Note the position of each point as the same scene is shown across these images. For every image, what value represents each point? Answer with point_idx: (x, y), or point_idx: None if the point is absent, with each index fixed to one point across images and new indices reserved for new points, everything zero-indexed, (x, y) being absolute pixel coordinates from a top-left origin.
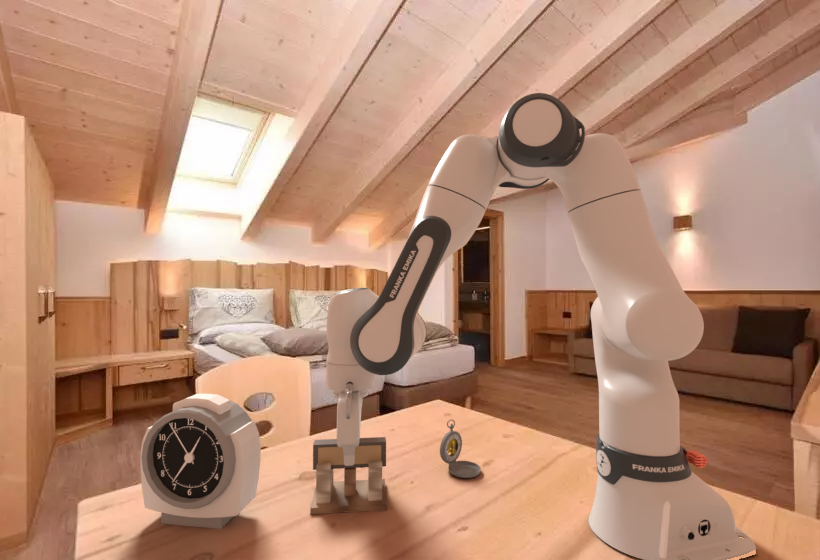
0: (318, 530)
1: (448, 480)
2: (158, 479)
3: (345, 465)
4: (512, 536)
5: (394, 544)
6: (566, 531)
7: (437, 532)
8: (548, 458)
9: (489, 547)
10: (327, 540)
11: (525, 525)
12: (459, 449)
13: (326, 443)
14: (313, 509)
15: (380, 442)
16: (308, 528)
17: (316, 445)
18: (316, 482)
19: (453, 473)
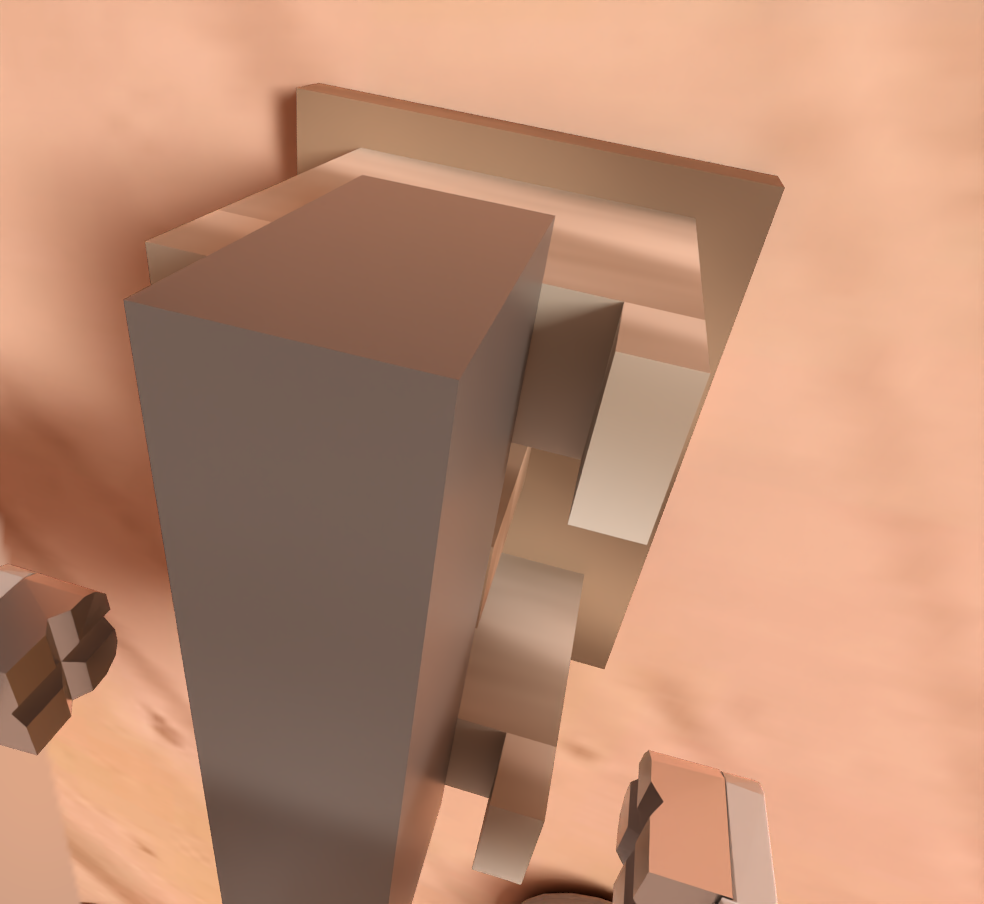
0: (120, 139)
1: (536, 856)
2: None
3: (18, 567)
4: (129, 802)
5: (44, 500)
6: (158, 891)
7: (137, 658)
8: None
9: (69, 735)
10: (29, 192)
11: (185, 851)
12: None
13: (206, 560)
14: (300, 116)
15: None
16: (139, 60)
17: (144, 368)
18: (266, 191)
19: (558, 901)
